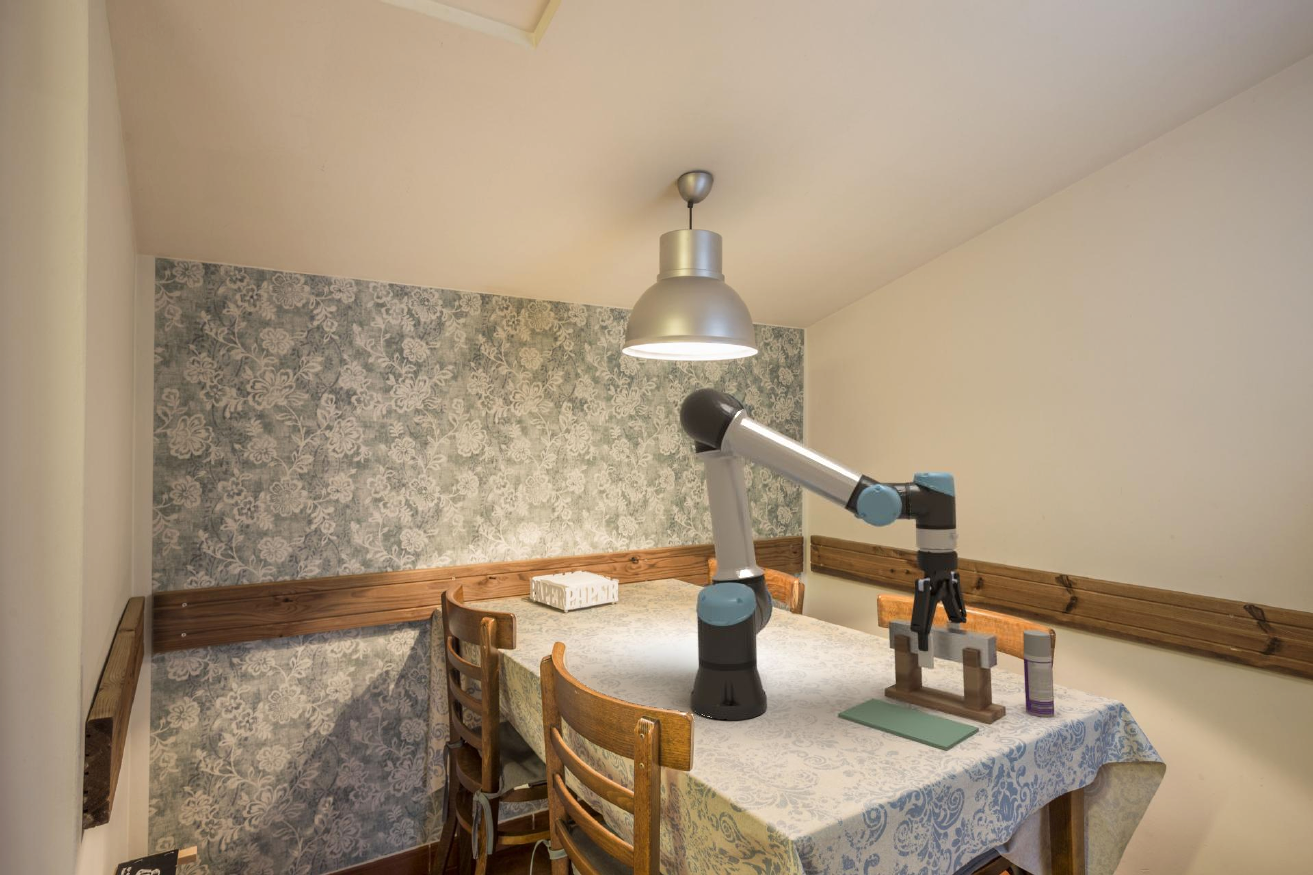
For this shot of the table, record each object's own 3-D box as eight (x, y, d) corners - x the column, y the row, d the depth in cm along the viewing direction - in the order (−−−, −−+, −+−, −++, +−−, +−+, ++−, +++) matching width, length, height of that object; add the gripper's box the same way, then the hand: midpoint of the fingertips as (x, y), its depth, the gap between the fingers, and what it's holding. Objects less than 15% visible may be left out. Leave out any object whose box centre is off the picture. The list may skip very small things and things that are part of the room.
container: (1028, 706, 130) (1025, 628, 131) (1056, 711, 127) (1052, 631, 128) (1023, 713, 127) (1020, 633, 127) (1052, 719, 124) (1048, 636, 124)
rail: (988, 668, 124) (987, 639, 124) (889, 647, 139) (888, 621, 139) (997, 664, 126) (995, 635, 126) (898, 644, 141) (897, 618, 142)
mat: (946, 750, 111) (946, 746, 111) (838, 716, 127) (838, 713, 127) (978, 730, 119) (978, 727, 119) (872, 701, 135) (872, 698, 135)
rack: (989, 724, 122) (986, 654, 123) (884, 695, 138) (882, 634, 138) (1005, 714, 127) (1003, 647, 127) (902, 687, 142) (900, 628, 143)
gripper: (925, 557, 123) (930, 678, 122) (982, 545, 138) (986, 653, 137) (888, 553, 129) (892, 669, 128) (946, 542, 144) (950, 646, 143)
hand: (941, 661), depth 133 cm, fingers open, 11 cm apart
